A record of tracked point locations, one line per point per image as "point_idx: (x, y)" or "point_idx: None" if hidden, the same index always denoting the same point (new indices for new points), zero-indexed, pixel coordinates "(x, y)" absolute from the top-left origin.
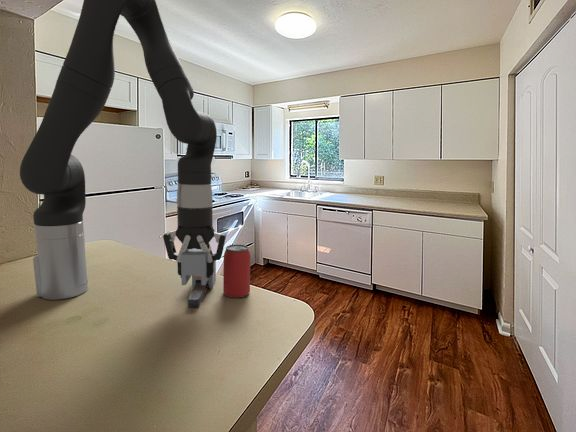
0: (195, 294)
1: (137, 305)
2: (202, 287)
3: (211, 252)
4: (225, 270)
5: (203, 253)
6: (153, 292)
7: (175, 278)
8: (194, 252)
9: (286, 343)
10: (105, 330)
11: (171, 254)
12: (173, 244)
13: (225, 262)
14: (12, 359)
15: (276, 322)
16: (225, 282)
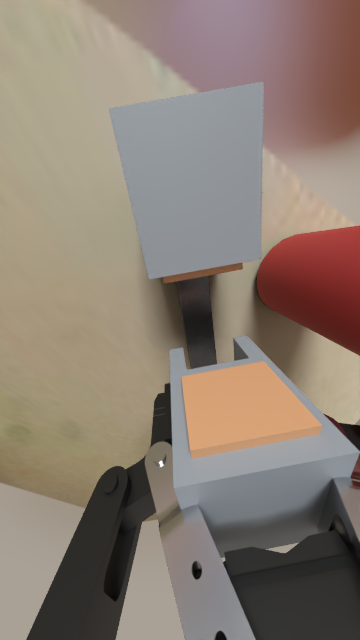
0: (202, 355)
1: (83, 377)
2: (206, 311)
3: (354, 468)
4: (320, 332)
5: (317, 529)
6: (65, 313)
7: (48, 179)
8: (261, 529)
9: (351, 418)
10: (99, 443)
11: (129, 538)
12: (91, 623)
13: (357, 351)
14: (51, 494)
15: (353, 378)
16: (286, 314)
